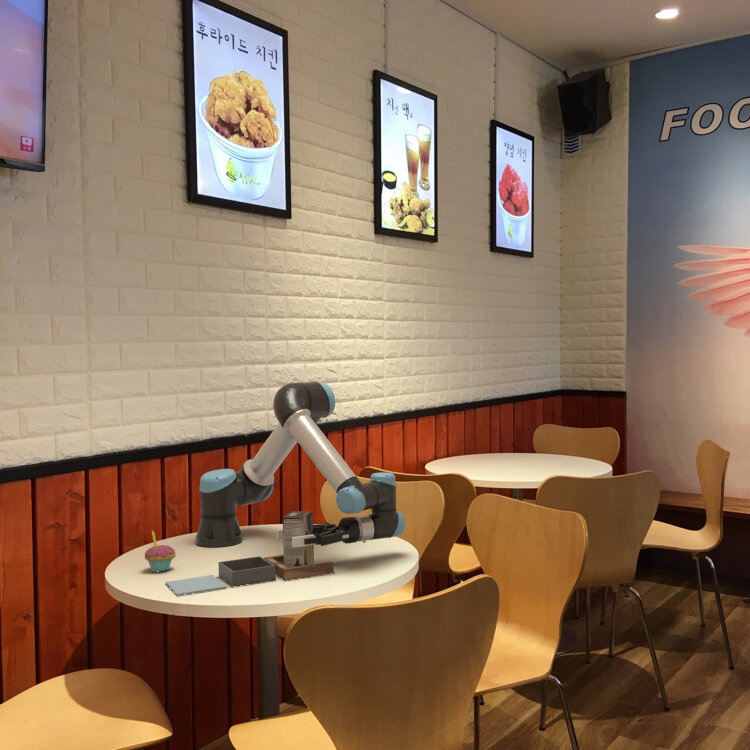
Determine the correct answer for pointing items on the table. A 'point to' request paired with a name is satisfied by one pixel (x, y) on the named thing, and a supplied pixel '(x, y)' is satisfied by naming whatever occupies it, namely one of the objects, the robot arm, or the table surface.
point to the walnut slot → (299, 568)
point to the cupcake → (159, 556)
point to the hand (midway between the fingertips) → (284, 538)
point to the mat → (195, 585)
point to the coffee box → (294, 527)
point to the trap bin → (247, 571)
